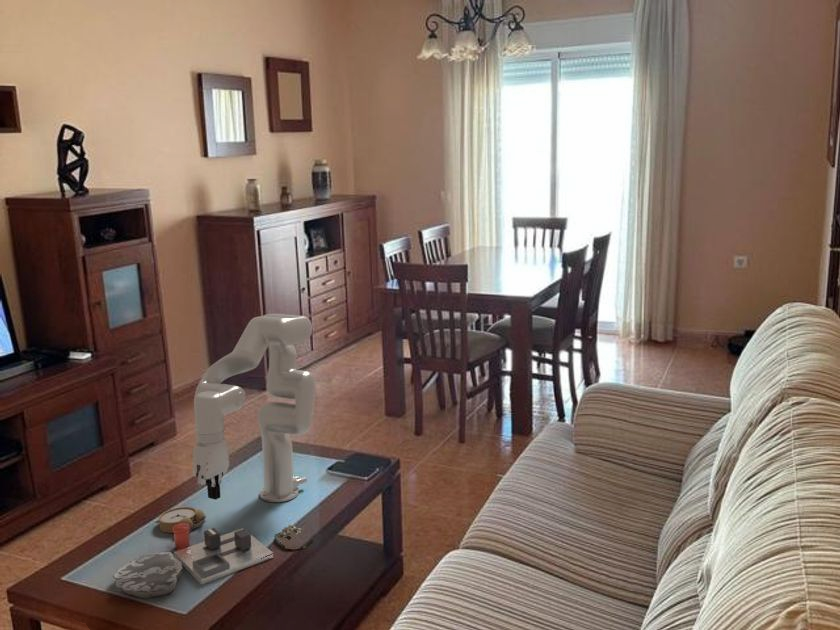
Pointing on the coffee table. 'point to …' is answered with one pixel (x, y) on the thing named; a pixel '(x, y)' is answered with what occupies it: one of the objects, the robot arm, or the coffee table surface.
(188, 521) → the alarm clock
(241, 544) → the breaker
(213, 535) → the block
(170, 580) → the brain slice
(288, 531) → the grey rough lump
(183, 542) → the cap
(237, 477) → the coffee table surface
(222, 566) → the panel
